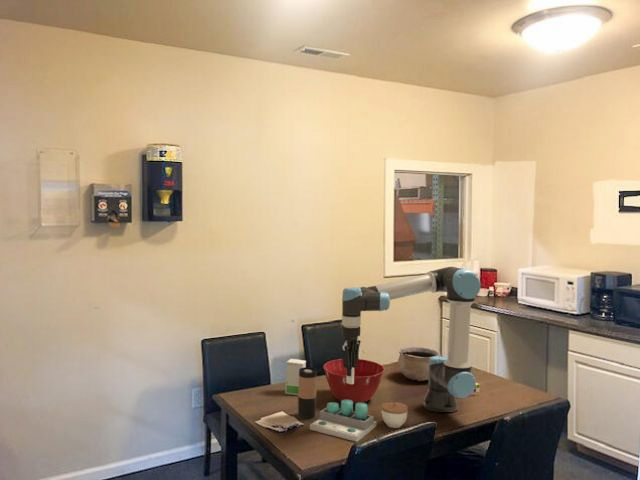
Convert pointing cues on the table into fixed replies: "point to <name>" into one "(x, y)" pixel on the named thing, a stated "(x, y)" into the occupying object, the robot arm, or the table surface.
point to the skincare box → (293, 375)
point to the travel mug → (307, 392)
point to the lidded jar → (394, 414)
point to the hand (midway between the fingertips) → (350, 383)
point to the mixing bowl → (364, 380)
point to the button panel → (343, 425)
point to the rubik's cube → (476, 388)
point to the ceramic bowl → (416, 362)
